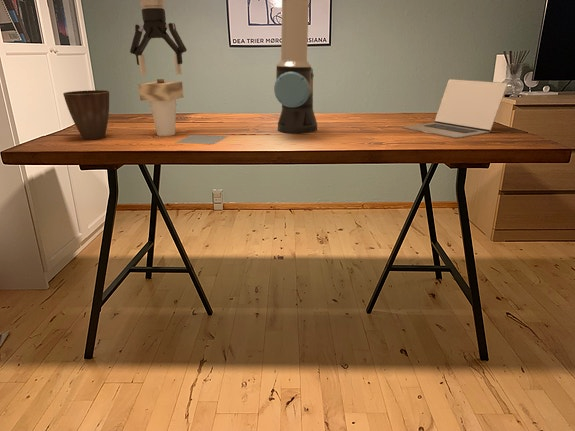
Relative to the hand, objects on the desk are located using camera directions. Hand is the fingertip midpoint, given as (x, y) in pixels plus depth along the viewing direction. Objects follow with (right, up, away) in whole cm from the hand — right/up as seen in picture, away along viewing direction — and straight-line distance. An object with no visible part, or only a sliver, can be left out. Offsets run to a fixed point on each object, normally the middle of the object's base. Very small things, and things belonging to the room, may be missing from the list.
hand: (161, 74), depth 160 cm
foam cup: (0, -20, +8) cm, 21 cm away
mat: (+15, -23, -2) cm, 28 cm away
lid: (0, -8, +3) cm, 8 cm away
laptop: (+105, -18, +11) cm, 107 cm away
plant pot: (-26, -21, +5) cm, 34 cm away
